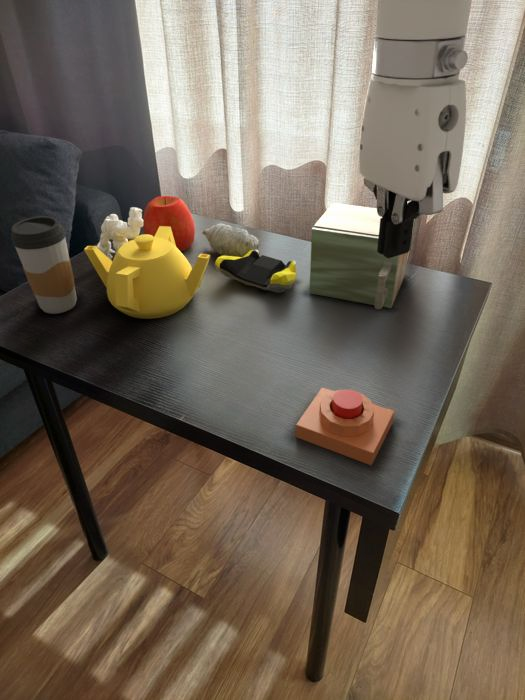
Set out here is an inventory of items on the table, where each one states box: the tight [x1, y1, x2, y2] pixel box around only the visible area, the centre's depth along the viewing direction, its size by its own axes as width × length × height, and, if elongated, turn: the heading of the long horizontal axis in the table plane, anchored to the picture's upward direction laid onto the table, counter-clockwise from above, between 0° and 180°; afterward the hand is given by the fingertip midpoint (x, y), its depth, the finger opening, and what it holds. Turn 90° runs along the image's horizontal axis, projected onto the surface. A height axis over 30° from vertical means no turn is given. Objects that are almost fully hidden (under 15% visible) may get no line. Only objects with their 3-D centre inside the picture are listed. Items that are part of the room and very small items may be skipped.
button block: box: [295, 387, 395, 466], centre depth 66 cm, size 10×8×4 cm
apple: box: [142, 195, 196, 252], centre depth 108 cm, size 11×11×11 cm
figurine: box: [96, 206, 144, 261], centre depth 100 cm, size 10×5×12 cm, turn 80°
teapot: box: [83, 226, 211, 320], centre depth 90 cm, size 17×17×12 cm
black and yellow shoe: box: [214, 250, 297, 294], centre depth 95 cm, size 15×6×10 cm
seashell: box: [202, 222, 262, 257], centre depth 105 cm, size 6×14×8 cm, turn 52°
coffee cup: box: [10, 215, 78, 315], centre depth 88 cm, size 8×8×15 cm
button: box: [332, 388, 363, 419], centre depth 64 cm, size 4×4×2 cm
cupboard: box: [313, 202, 409, 306], centre depth 93 cm, size 11×15×13 cm
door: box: [309, 226, 399, 310], centre depth 86 cm, size 6×15×12 cm, turn 68°
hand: (393, 252), depth 57 cm, fingers closed
